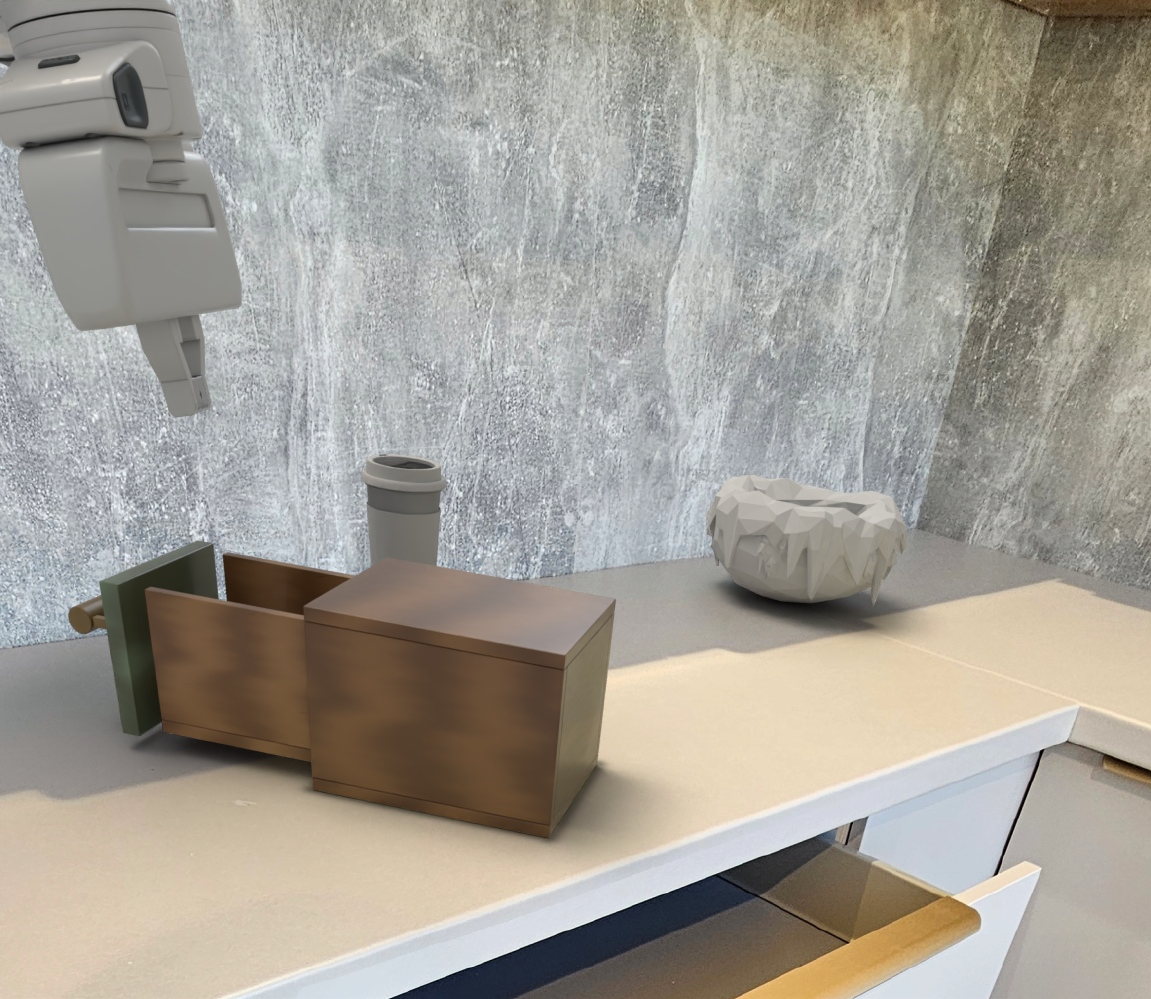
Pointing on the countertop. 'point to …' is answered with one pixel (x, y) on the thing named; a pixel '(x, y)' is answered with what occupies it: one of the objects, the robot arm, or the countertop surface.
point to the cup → (403, 507)
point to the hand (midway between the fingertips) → (192, 414)
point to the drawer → (211, 647)
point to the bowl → (804, 538)
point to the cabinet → (457, 693)
